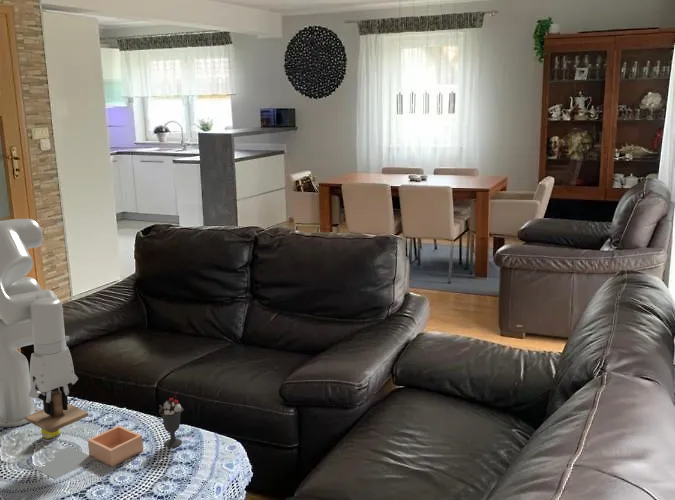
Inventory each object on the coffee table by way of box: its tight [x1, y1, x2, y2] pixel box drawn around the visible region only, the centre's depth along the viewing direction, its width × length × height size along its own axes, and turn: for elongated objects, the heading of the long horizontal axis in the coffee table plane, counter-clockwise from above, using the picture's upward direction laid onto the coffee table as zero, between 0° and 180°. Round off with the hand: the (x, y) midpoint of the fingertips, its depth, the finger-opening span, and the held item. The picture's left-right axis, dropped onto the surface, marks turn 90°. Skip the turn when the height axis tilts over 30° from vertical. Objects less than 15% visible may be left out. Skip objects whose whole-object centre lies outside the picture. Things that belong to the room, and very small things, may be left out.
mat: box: [28, 445, 96, 480], centre depth 179 cm, size 12×12×1 cm
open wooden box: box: [87, 425, 144, 468], centre depth 183 cm, size 10×10×5 cm
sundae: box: [157, 391, 184, 449], centre depth 187 cm, size 7×7×15 cm
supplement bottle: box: [40, 428, 61, 442], centre depth 192 cm, size 5×5×8 cm
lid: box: [26, 390, 89, 433], centre depth 176 cm, size 11×11×7 cm
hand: (56, 410), depth 176 cm, fingers closed on lid, 3 cm apart
